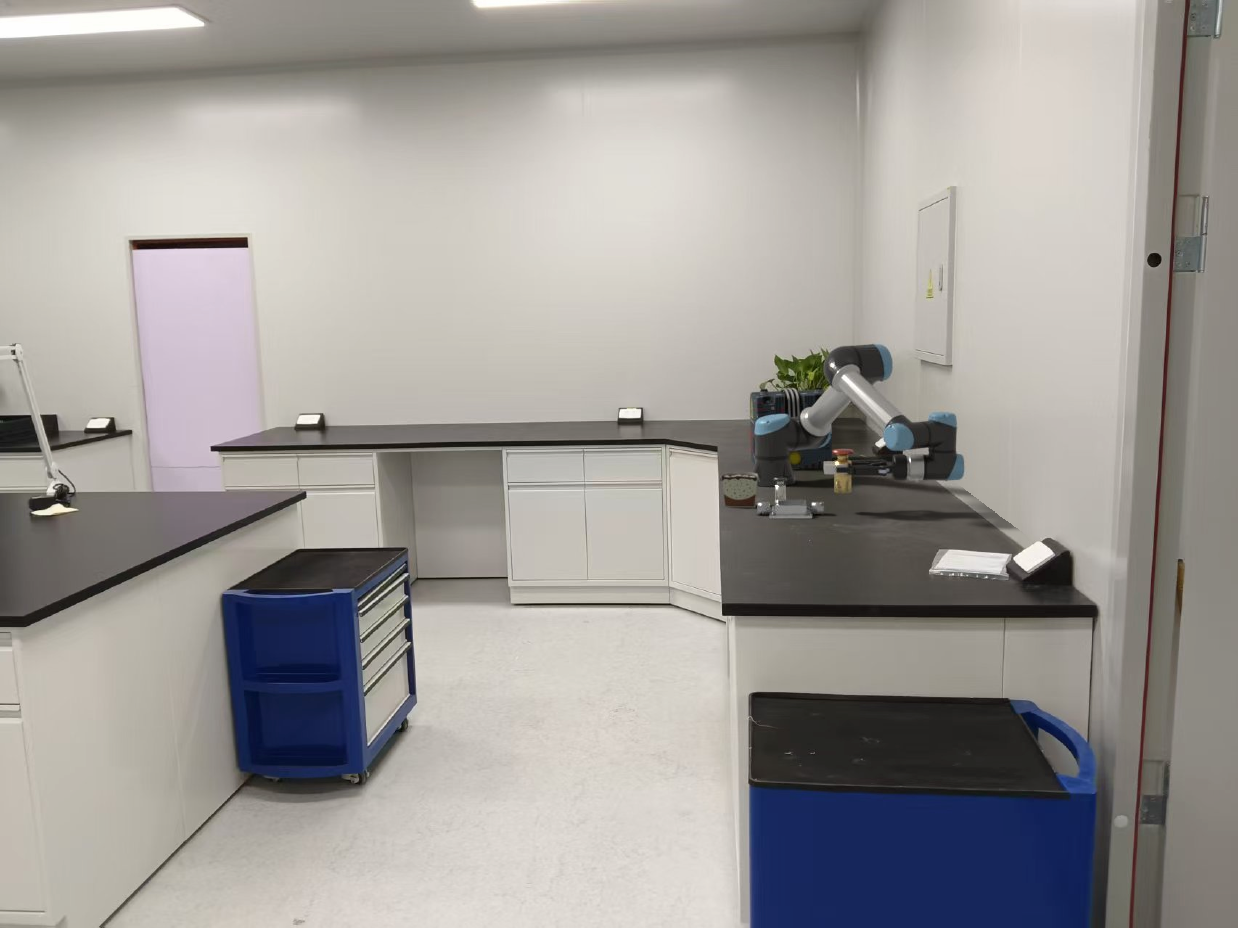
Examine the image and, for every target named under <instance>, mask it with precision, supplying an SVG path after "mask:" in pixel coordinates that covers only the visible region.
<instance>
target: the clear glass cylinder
mask: <svg viewBox="0 0 1238 928" xmlns="http://www.w3.org/2000/svg"><path fill="white" fill-rule="evenodd" d="M774 480H775V481H777V484H776V485H775V486H774V496H775V497H774V499H775V500H787V497H786V496H787V494H786V493H787V492H786V491H787V490H786V489H787V487H786V486H787V485H785V484H784V481H786V480H787V477H774ZM775 500H774V501H775Z"/></svg>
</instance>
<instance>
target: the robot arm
mask: <svg viewBox="0 0 1238 928" xmlns="http://www.w3.org/2000/svg"><path fill="white" fill-rule="evenodd" d="M892 357H893V356H892V355H891V352H890V350H889V348H887V347H886V346H885V345H884V344H878V343H877V344H875V343H871V344H859V345H858V344H857V345H841V346H839V347H836V348H834V349H832V350H831V351H830V352H829V353H828V355H827V356H826V358H825V359H824V362H823V369H822V371H823V374H824V378H825V380H826V381H827V383H828V384H829V386H828V388H826V390H825V391H824V393H823V395H822V396H821V397H820V398H819V399H818V400H817V402H816V403H815V404H814V405H813V406H812V407H808V408H806V409H804V410H803V411H802V412H801V413H800V415H799V416H797V417H790V418H789V416H788V415H787V414H776V415H768V416H764V417H761V418H759V419H758V420H757V421H756V423H755V453H756V461H755V465H754V464H753V465H754V466H753V469H752V472H751V473H756V474H758V476H759V480H760V482H759V481H758V482H757V487H758V486H760V487H775V485H776V484H777V481H775V480H774V477H787V480H786V481H784V484H785V485H786V486H791V485H793V484H795V483H796V475H795V473H794V470H793V469H792V466H791V463H790V451H795V450H805V449H816V448H820V447H823V446H825V445H826V444H827V443H828V442H829V440H830V438H831V436H830V434H832V432H833V428H832V427H833V426H832V423H833V422H834V421H835V420H836V419H837V417H838V416H840V414H841V413H842V412H843V411H844V410H845V409H846V408H847V407H848V406H849V404H850V403H853V405H854V406H855V407H857V408H858V409H859V410H860V411H861V412H862V413H863V414H864V415H865V416H866V418H868V419H869V420H870V421H871V422H872V423H873V424H874V425H875V426H876V427H877V428H878V429H879V430H881V432H882V433H883V436H882V437H883V438H882V439H883V442H884V443H885V446H886V448H887V449H888V450H890V451H892V452H893V451H894V452H899V451H900V452H904V451H912V450H918V449H927V448H928V449H927V450H928V454H922V453H920V454H919V453H915V454H913V453H911V454H910V453H909V454H908V455H906V454H893V455H892V457H891V461H887V460H886V459H882V458H881V459H866V460H865V459H864V460H863V459H854V460H853V459H849V460H850V461H851V464H850V463H848V465H834V461H832V462H824V469H823V472H824V473H823V474H824V475H834V474H849V475H851V477H853V476H854V477H855V476H858V477H859V476H861V477H862V476H866V477H867V476H869V477H870V476H872V477H873V476H876V477H877V476H881V477H887V474H889V475H890V474H891V478H892V481H896V482H897V481H902V482H903V481H904V482H905V481H906V480H908V481H915V483H919V482H920V481H945V482H948V481H961V480H962V479H963V477H964V476H965V475H964V474H965V459H964V458H965V457H964V455H963V454H961V453H957V436H958V435H957V432H958V423H957V421H958V420H957V416H956V414H955V413H953V412H946V411H945V412H944V411H938V412H937V411H935V412H931V413H930V414H929V415H928V420H923V421H922V420H921V421H914V422H913V421H911V420H910V419H909V418H908V417H906V415H904V414H903V413H902V412H901V411H900V410H899V408H897V407H896V406H895V405H894V404H893V403H892V402H890V400H889V399H887V397H886V396H884V395H883V393H881V392H880V391H879V390H878V389H877V388H876V387H875V386H874V384H875V383H877V382H884V381H887V380H888V379H889V378H890V377H891V375H892V373H893V367H894V366H893V358H892ZM832 435H833V434H832Z"/></svg>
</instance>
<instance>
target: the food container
mask: <svg viewBox="0 0 1238 928" xmlns="http://www.w3.org/2000/svg"><path fill="white" fill-rule="evenodd" d="M758 481H759V482H760V480H759V476H758V474H756V473H752V472H749V471H748V472H747V471H734V472H733V471H732V472H724V473H722V474H720V476H719V482H721V487H722V489H721V490H722V495H723V496H722V497H723V504H724V505H723V506H724V507H725V508H756V505H757V502H756V501H757V492H758V491H757V490H758V485H757V482H758Z"/></svg>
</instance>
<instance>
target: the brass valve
mask: <svg viewBox="0 0 1238 928" xmlns="http://www.w3.org/2000/svg"><path fill="white" fill-rule="evenodd" d="M853 454H854V449H852V448H851V449H850V448H835V449H832V455H837V460H836V459H835V460H834V461H833V462H834V465H848V463H850V464H851V461H850V460H851V459H849V455H853ZM833 476H834V477H833V478H834V480H833V481H834V482H833V483H834V485H833V486H834V487H833V489H834V490H833V491H834V493H837V494H849V493H852V476H851V475H849V474H833Z"/></svg>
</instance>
